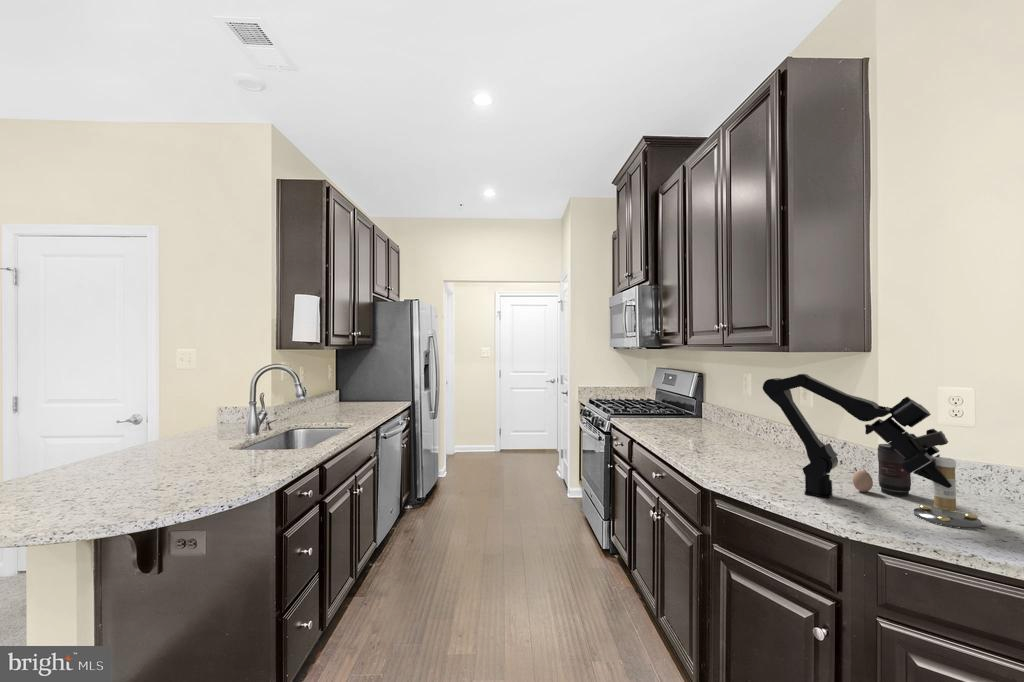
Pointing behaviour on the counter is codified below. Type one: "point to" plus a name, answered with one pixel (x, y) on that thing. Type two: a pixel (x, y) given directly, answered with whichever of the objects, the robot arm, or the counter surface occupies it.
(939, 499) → the sprinkles bottle
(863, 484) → the egg
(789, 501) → the counter surface
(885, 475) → the camera lens
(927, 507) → the tribrach plate
